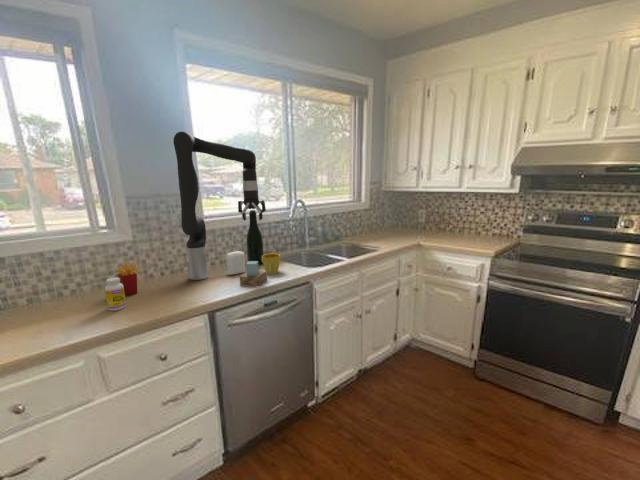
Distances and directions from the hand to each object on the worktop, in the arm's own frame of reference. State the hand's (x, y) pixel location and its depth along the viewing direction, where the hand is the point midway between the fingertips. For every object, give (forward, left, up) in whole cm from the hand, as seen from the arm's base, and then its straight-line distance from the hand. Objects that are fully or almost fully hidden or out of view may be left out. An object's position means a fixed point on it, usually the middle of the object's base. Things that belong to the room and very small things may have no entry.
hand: (252, 220), depth 172 cm
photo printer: (-12, +2, -30) cm, 33 cm away
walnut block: (+3, -14, -30) cm, 34 cm away
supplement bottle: (-47, -47, -30) cm, 73 cm away
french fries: (-53, -29, -30) cm, 68 cm away
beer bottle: (-7, +24, -30) cm, 39 cm away
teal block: (+3, -15, -25) cm, 29 cm away
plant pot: (+8, +3, -30) cm, 31 cm away
